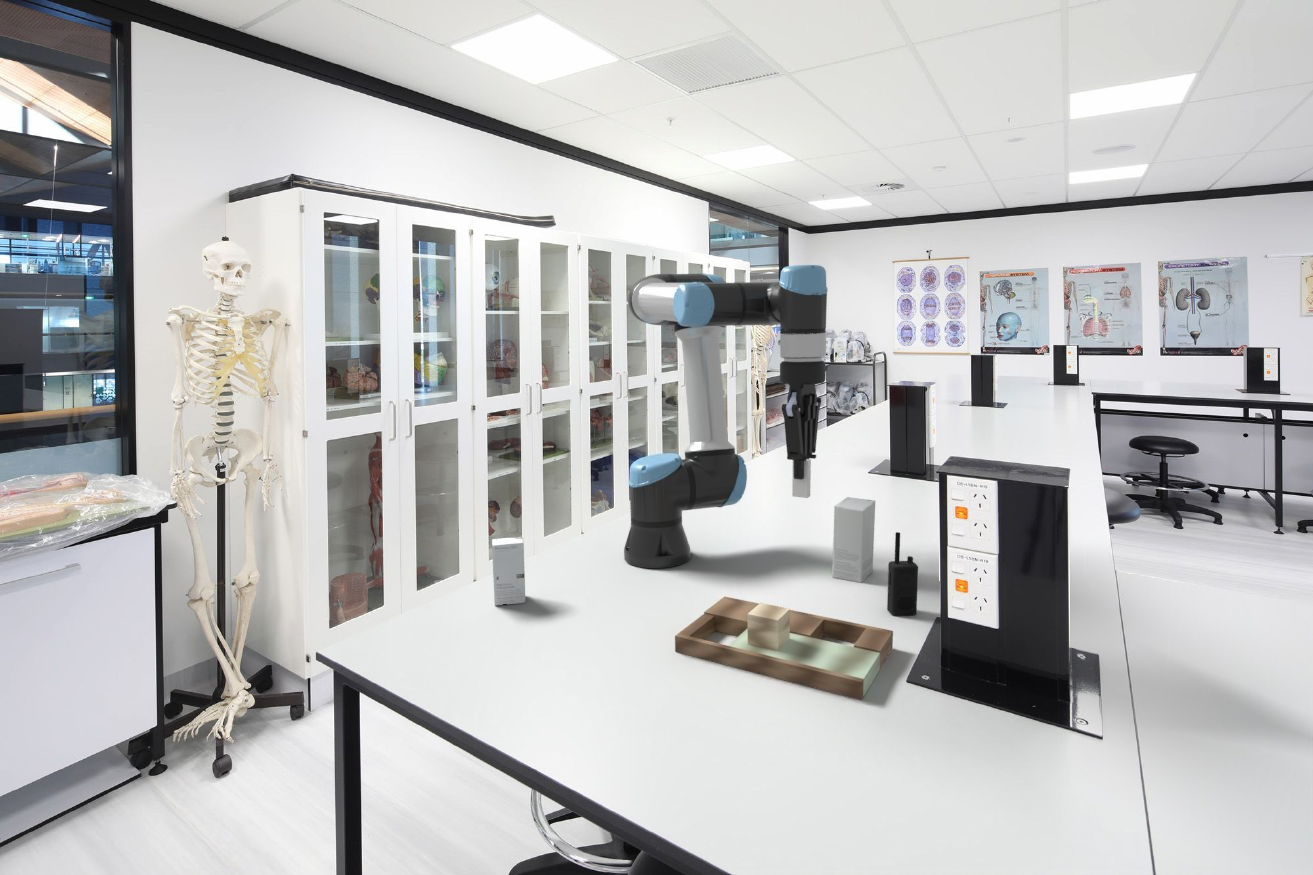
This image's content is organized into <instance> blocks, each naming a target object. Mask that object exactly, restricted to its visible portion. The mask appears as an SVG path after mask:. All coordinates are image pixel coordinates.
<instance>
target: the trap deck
mask: <svg viewBox="0 0 1313 875" xmlns="http://www.w3.org/2000/svg"><path fill="white" fill-rule="evenodd" d="M758 604H760V603H758V602H753V601H748V600H744V599H738V598H734V597H729V596H724V597H722V598H720V599H719V600H717V602H715V603H714V604H712V606H710V607H708V608H707V609H706V610H704V611H703V614H702V615H700V616H699V617H698V618H697V619H695V620H694V621H692V622H691V623H690V624H688V625H687V626H686V627H685V628H683V629H682V630H681V631H680V632H678V633H677V634H676V635H675V636H674V647H675V648H674V652H676V653H678V654H679V653H680V654H683V655H687V656H691V657H694V658H698V659H703V660H705V661H709V662H714V663H719V664H722V665H725V666H729V667H732V668H736V669H741V670H744V671H749V672H752V673H755V674H758V675H759V674H760V675H764V676H768V677H772V678H775V679H779V680H783V681H787V682H791V683H793V684H794V683H795V684H798V685H802V686H805V687H808V688H813V689H818V690H820V691H824V692H828V693H832V694H836V695H839V694H840V695H841V696H843V697H847V696H848V698H851V699H855V700H859V701H862V699H863V698H864V697H865V695H866V693H867V691H868V689H869V688H870V686H871V685H872V683H873V682H874V680H875V678H876V677H877V675H878V673H879V671H880V669H882V666H883V665H884V663H885V661H886V659H887V658H888V657H889V655H890V653H891V652H892V650H893V642H894V630H890V629H885V628H882V627H881V628H880V627H877V626H871V625H866V624H861V623H857V622H851V621H846V620H842V619H838V618H832V617H829V616H828V617H827V616H821V615H817V614H812V613H808V612H804V611H798V610H793V609H790V639H789V640H788V641H787V642H786V643H785V644H784V645H783V646H782V647H781V648H780V650H779V651H774V650H770V649H765V648H761V647H757V646H753V645H749V644H748V613H749V612H750V611H751V610H753V609H754V608H755V607H756V606H757V605H758ZM714 632H718V633H722V634H725V635H731V636H734V637H735V636H736V638H735V639H734V640H732V642H730V643H729V644H728V645H726V644H721V643H717V642H715V641H710V640H706V639H707V638H708V637H709V636H711V634H712V633H714ZM824 637H826V638H831V639H834V640H838V641H839V640H840V641H844V642H849V643H853V646H852V645H847V644H842V643H838V642H833V641H829V640H824V639H823V638H824Z"/></svg>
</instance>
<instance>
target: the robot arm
mask: <svg viewBox="0 0 1313 875" xmlns="http://www.w3.org/2000/svg"><path fill="white" fill-rule="evenodd" d="M828 289H829V288H828V286H827V271H826V268H825V267H823V266H822V265H817V264H798V265H788V266H787V265H786V266H784V267H783V268H782V270H781V271H780V277H779V281H773V282H772V281H771V282H770V281H768V282H767V281H765V282H764V281H763V282H757V281H756V282H755V281H753V282H750V281H749V282H745V281H744V282H743V281H741V282H726V280H724V279H723V277H721V276H719V275H718V274H709V273H705V272H704V273H702V272H700V273H656V274H650V275H647V276H644V277H642V278H640V279H638V280H637V281H636V282H635V283H634V284H633V286H631V288H630V289H629V292H628V296H627V305H628V308H629V310H630V312H631V314H632V315H633V317H634V318H635V319H637V320H639V321H640V322H642V323H645V324H649V325H653V326H666V327H667V326H673V330H674V335H675V337H676V338H678V339H679V340H680V341H681V348H682V359H683V371H684V372H683V373H684V383H685V393H686V394H685V395H686V405H687V417H688V430H689V440H690V441H689V445H688V446H687V447H686V448H685V449H684V459H683V458H682V456H680V455H679V454H678V453H673V452H667V453H657V454H652V455H651V454H650V455H646V456H642V457H639V459H636V460H635V461H633V462H632V463H631V464H630V467H629V479H628V486H629V504H630V505H629V508H630V526H629V528H630V529H629V530H628V534H627V537H626V538H627V539H626V542H625V545H624V547H623V555H624V556H623V557H624V561H625V562H626V563H628V564H629V565H632V566H634V567H638V568H644V569H665V568H672V567H673V568H674V567H677V566H681V565H683V564H685V563H687V562H689V560H691V546H690V543H689V540H688V537H687V534H686V531H685V528H684V525H683V512H684V511H691V510H693V511H694V510H700V509H711V508H723V507H727V506H732V505H735V504H737V503H739V502H740V500H741V499H742V498H743V495H744V494H745V491H746V487H747V479H748V472H747V471H748V470H747V465H746V464H745V459H744V458H743V457H742V456H741V455H740V454H737V453H736V448H735V445H733V444H732V443H730V442H729V440H728V432H727V421H726V419H727V418H726V408H725V407H726V406H725V397H724V385H723V374H722V364H721V363H722V362H721V352H720V351H721V350H720V341H719V340H720V336H721V335H722V334H723V333H724V331H725V326H726V327H727V326H728V327H729V326H730V327H731V326H732V327H734V326H735V327H736V326H737V327H738V326H765V327H766V326H769V327H771V326H772V327H773V326H775V325H776V326H779V328H780V330H779V332H780V334H779V335H780V337H779V340H778V342H777V344H778V345H779V346H780V347H779V348H780V350H779V351H780V352H779V354H780V356H779V357H780V358H781V359H783V361H781V362H780V363H779V381H780V383H781V384H784V385H788V386H789V388H788V395H787V397H786V398H787V399H786V403H783V404H782V405H781V412H782V415H783V421H784V422H783V423H784V432H785V443H786V454H787V455H786V458H787V460H791V461H792V485H791V486H792V487H791V488H792V495H791V496H792V497H795V498H802V499H803V498H804V499H808V498H809V497H811V475H812V474H811V473H812V471H811V470H812V469H811V464H812V463H811V461H812V460H811V459H817V454H815V453H816V448H817V439H818V438H817V437H818V427H819V414H820V409H821V404H822V397H818V394H817V390H816V385H818V384H819V385H820V384H823V383H824V382H825V381H826V362H825V361H824V360H823V359H824V358H825V357H826V356H827V333H826V328H827V303H828V302H827V301H828V300H827V299H828V298H827V297H828Z"/></svg>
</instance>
